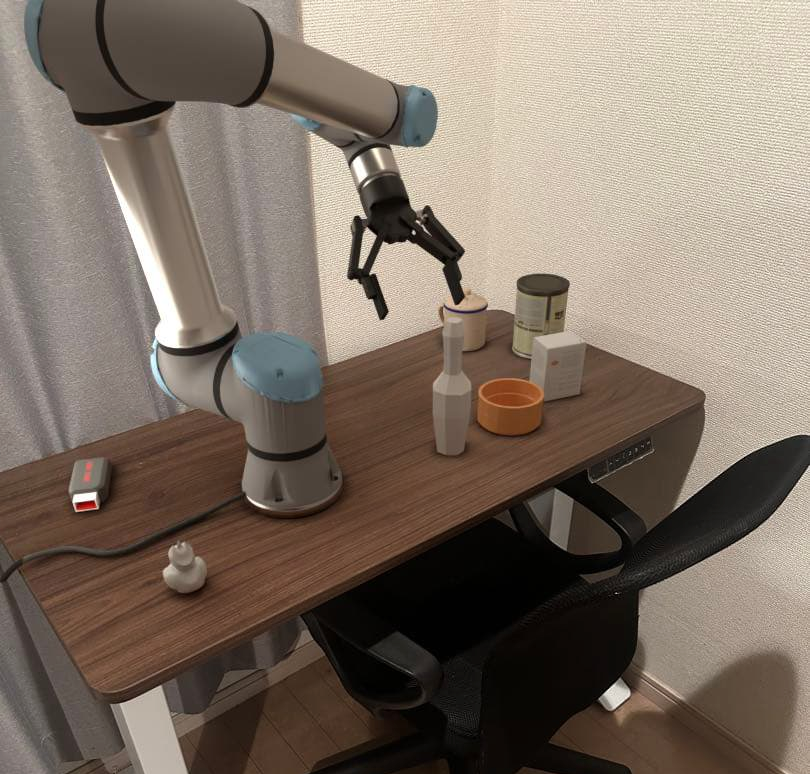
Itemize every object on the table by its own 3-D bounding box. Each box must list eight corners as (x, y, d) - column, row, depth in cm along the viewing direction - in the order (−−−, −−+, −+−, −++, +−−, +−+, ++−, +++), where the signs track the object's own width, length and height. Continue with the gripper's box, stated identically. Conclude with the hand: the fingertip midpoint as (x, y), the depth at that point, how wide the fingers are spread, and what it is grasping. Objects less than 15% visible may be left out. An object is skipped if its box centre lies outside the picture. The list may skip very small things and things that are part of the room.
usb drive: (112, 467, 122) (107, 452, 120) (106, 509, 112) (101, 494, 111) (78, 471, 121) (73, 457, 119) (69, 514, 111) (64, 498, 110)
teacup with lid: (494, 343, 158) (498, 288, 151) (465, 356, 154) (468, 300, 146) (453, 328, 165) (454, 274, 158) (424, 340, 160) (424, 285, 153)
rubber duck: (176, 606, 95) (163, 557, 90) (159, 578, 100) (146, 529, 95) (216, 590, 97) (206, 542, 93) (198, 563, 102) (187, 515, 97)
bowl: (506, 443, 126) (509, 414, 122) (463, 418, 133) (465, 389, 130) (554, 423, 131) (558, 395, 128) (510, 400, 138) (513, 372, 135)
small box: (564, 382, 144) (571, 329, 137) (580, 395, 139) (588, 341, 133) (527, 389, 141) (532, 336, 135) (542, 402, 137) (548, 348, 131)
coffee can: (519, 336, 161) (525, 270, 152) (567, 344, 158) (575, 276, 149) (504, 355, 154) (509, 286, 145) (554, 363, 150) (562, 293, 142)
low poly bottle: (438, 436, 128) (440, 310, 115) (474, 442, 126) (480, 315, 113) (426, 454, 123) (426, 325, 110) (462, 461, 122) (468, 330, 108)
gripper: (440, 191, 129) (480, 305, 128) (303, 211, 121) (345, 333, 119) (456, 163, 122) (499, 284, 121) (312, 182, 113) (356, 311, 112)
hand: (423, 308), depth 120 cm, fingers open, 13 cm apart
